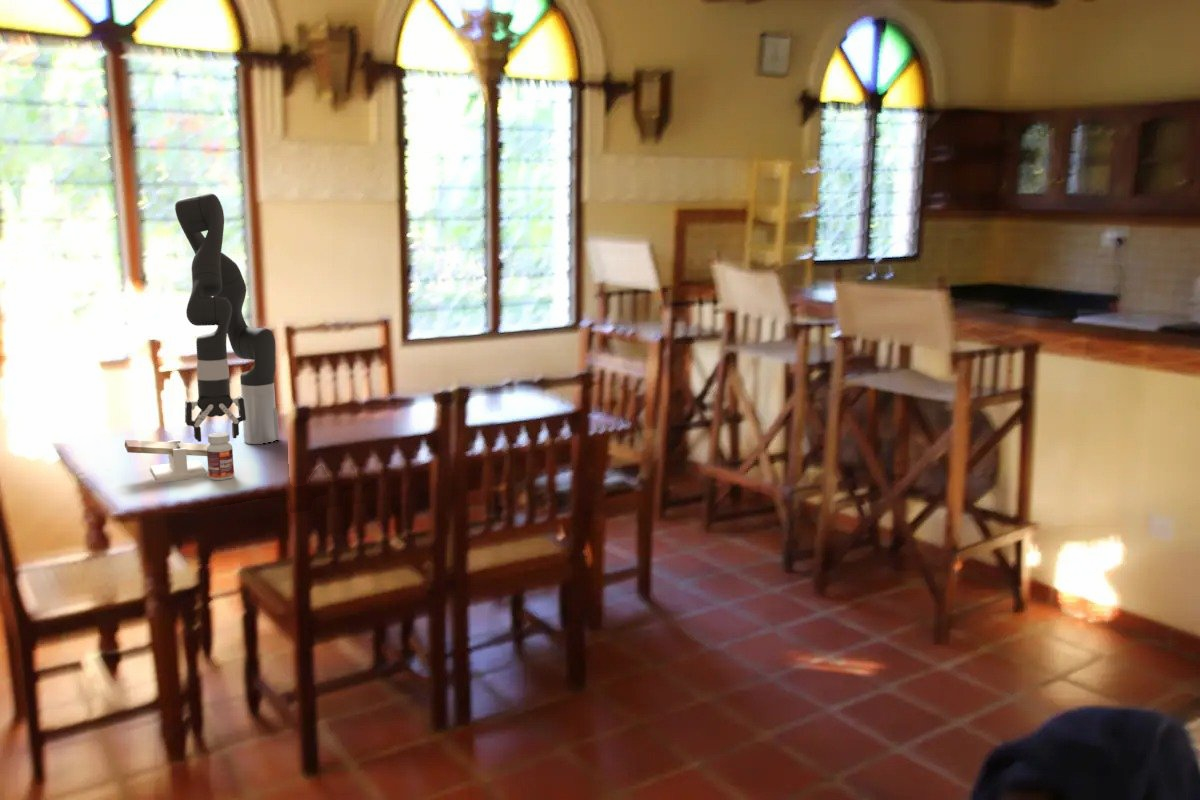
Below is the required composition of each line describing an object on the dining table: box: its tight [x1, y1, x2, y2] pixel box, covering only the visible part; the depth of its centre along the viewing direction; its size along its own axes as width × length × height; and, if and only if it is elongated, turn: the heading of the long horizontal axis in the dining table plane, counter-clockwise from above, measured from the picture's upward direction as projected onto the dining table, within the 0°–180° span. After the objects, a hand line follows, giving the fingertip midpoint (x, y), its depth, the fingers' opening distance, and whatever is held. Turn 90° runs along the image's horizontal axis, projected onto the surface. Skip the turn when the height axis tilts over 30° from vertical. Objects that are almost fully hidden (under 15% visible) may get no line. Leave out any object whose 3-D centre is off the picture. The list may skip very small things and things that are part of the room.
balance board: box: [124, 439, 210, 457], centre depth 272 cm, size 24×8×2 cm, turn 120°
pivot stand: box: [149, 439, 209, 483], centre depth 272 cm, size 12×14×8 cm
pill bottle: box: [206, 431, 235, 481], centre depth 268 cm, size 6×6×11 cm
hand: (216, 439), depth 267 cm, fingers open, 8 cm apart
